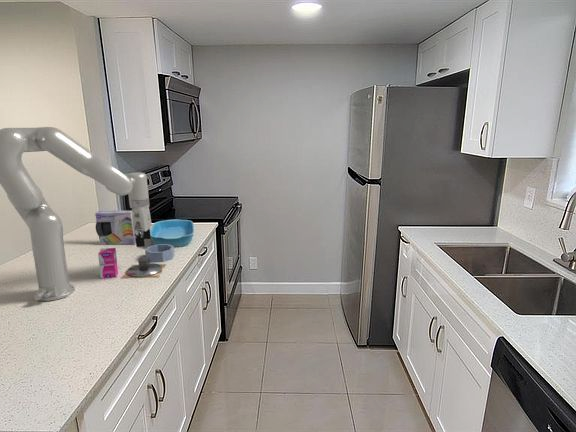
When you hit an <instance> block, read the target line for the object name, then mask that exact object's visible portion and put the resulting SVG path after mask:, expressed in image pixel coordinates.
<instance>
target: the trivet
mask: <svg viewBox="0 0 576 432" xmlns="http://www.w3.org/2000/svg"><path fill="white" fill-rule="evenodd" d="M135 265H136V264H131V265H130V267H132V266H135ZM159 265H161V266H162V271H161V272H159V273H158V274H155V275H152V276H148V277H131V276H129V275H127V270H126V271H125V272H124V273H123V275H122V276H121V277H120V279H121V280H122V279H148V278H149V279H152V278H153V279H157V278H160V276H161V274H162V273H163V271H164V269H165V267H166V266H167V263H159ZM130 267H129V268H130Z"/></svg>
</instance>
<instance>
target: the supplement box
mask: <svg viewBox="0 0 576 432" xmlns="http://www.w3.org/2000/svg"><path fill="white" fill-rule="evenodd" d="M97 256H98V265H99V274H100V279H101V280H103V279H112V278H115V279H116V278H117V276H118V274H119V270H118V259H117V257H118V256H117V249H116V247H112V248H111V247H110V248H109V247H107V248H100V250H99V251H98V252H97Z"/></svg>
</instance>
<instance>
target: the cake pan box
mask: <svg viewBox="0 0 576 432" xmlns="http://www.w3.org/2000/svg"><path fill="white" fill-rule="evenodd" d="M94 216H95V219H96V220H95V221H96V223H95V231H96V235H97V236H98V239H99V241H98V242H99V245H101V246H102V245H103V246H105V245H106V246H108V245H109V246H111V245H113V246H115V245H118V246H119V245H136V239H135V231H134V227H133V217H132V210H117V209H116V210H115V209H114V210H97V212H95V215H94Z"/></svg>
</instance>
